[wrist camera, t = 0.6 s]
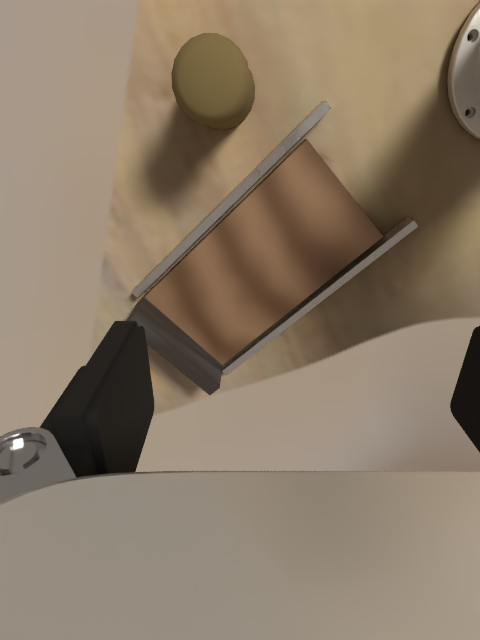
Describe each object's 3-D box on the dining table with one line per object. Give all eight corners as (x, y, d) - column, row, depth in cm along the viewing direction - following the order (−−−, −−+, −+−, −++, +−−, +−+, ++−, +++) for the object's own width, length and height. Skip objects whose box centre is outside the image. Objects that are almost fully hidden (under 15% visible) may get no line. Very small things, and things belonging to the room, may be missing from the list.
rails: (322, 101, 34) (325, 100, 32) (412, 222, 38) (418, 226, 37) (135, 287, 42) (131, 293, 41) (227, 367, 47) (226, 375, 46)
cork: (175, 107, 34) (145, 102, 24) (204, 34, 32) (184, -5, 22) (235, 142, 35) (229, 151, 26) (267, 74, 33) (275, 55, 23)
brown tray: (305, 138, 35) (314, 141, 30) (379, 233, 39) (398, 249, 34) (138, 301, 43) (123, 324, 38) (214, 366, 47) (209, 395, 42)
